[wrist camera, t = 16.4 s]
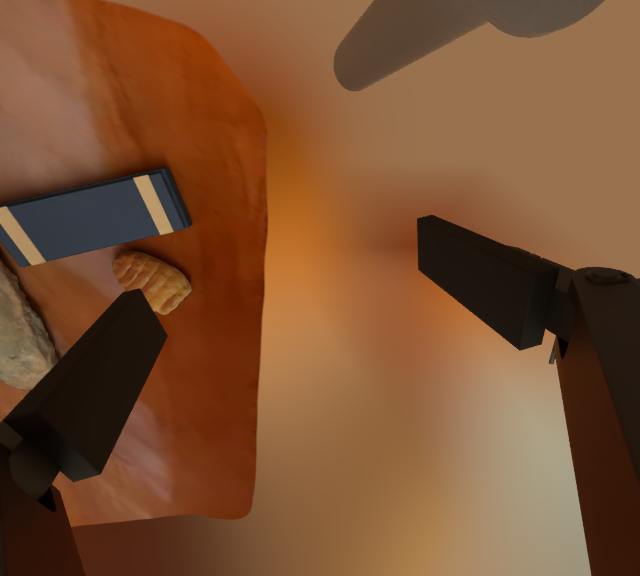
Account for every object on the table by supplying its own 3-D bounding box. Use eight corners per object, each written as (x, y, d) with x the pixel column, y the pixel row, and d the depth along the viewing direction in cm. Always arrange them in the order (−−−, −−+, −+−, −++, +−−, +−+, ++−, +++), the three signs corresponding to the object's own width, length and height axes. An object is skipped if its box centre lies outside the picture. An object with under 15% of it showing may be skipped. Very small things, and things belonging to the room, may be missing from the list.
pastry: (105, 271, 37) (90, 283, 34) (138, 236, 36) (125, 245, 33) (168, 312, 42) (161, 326, 38) (199, 281, 41) (194, 294, 37)
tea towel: (168, 166, 33) (161, 168, 31) (192, 223, 37) (188, 229, 35) (-9, 206, 32) (-30, 210, 30) (33, 261, 35) (17, 269, 33)
